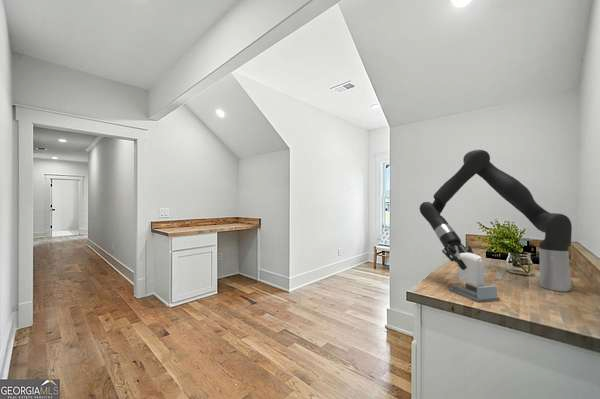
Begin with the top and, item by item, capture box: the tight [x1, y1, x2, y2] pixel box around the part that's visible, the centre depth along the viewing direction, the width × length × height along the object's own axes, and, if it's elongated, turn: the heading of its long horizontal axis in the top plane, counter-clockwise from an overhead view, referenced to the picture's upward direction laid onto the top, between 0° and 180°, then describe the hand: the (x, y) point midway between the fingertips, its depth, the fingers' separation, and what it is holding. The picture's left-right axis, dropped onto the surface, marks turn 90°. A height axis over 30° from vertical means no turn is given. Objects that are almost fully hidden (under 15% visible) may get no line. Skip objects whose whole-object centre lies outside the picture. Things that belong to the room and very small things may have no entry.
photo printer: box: [457, 252, 486, 287], centre depth 105 cm, size 10×4×12 cm, turn 13°
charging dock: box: [449, 282, 500, 303], centre depth 104 cm, size 10×14×6 cm
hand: (469, 268), depth 106 cm, fingers closed on photo printer, 4 cm apart
